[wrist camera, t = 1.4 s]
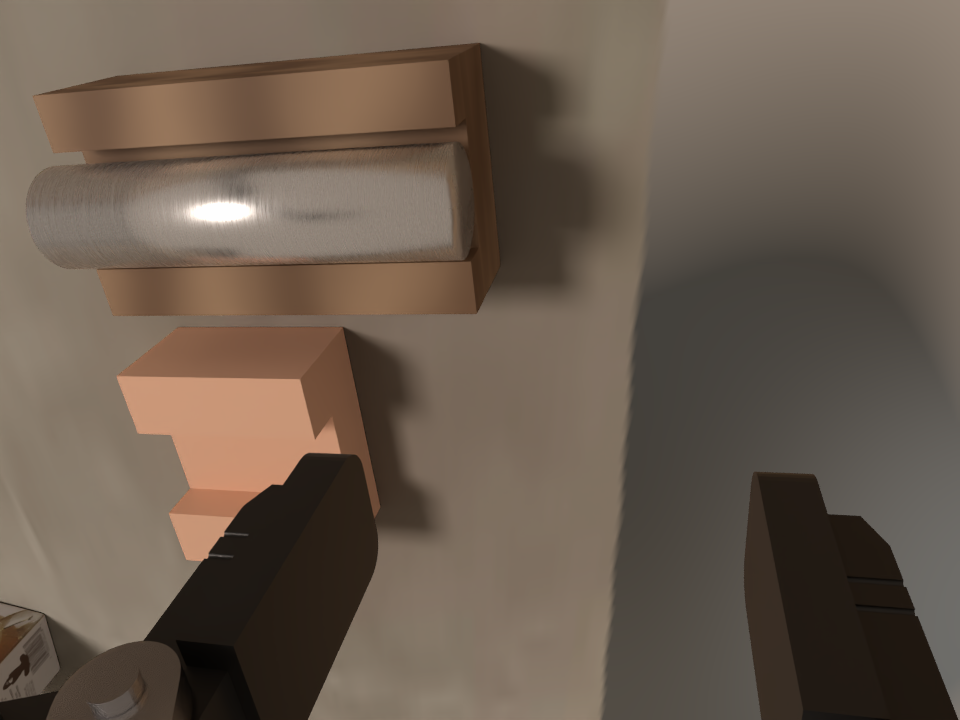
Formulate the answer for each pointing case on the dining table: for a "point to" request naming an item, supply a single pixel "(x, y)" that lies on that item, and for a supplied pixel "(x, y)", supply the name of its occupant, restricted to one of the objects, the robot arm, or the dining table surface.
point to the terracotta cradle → (244, 414)
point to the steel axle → (258, 209)
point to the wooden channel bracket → (286, 128)
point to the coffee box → (25, 653)
